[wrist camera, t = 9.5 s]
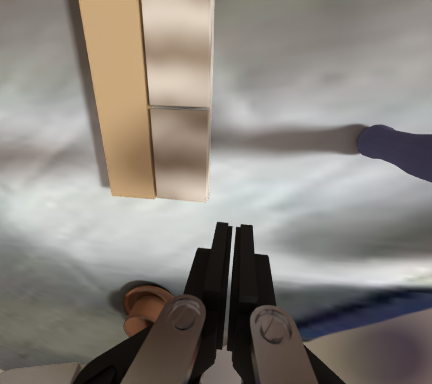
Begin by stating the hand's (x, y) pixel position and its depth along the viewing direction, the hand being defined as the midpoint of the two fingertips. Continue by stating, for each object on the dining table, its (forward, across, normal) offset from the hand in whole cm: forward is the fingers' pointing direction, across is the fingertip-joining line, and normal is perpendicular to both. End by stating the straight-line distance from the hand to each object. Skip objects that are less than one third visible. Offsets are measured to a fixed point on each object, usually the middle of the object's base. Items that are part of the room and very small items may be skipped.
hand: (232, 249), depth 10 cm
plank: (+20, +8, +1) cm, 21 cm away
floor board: (+22, +11, -5) cm, 25 cm away
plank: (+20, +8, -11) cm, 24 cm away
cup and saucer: (+22, +15, +32) cm, 42 cm away
